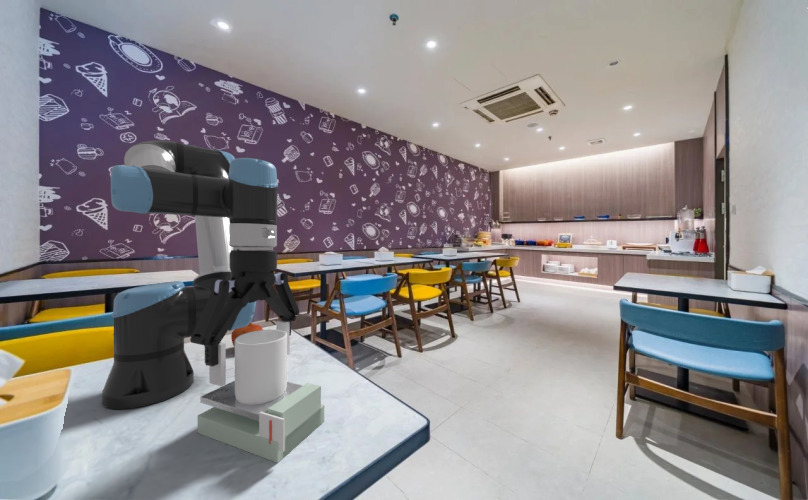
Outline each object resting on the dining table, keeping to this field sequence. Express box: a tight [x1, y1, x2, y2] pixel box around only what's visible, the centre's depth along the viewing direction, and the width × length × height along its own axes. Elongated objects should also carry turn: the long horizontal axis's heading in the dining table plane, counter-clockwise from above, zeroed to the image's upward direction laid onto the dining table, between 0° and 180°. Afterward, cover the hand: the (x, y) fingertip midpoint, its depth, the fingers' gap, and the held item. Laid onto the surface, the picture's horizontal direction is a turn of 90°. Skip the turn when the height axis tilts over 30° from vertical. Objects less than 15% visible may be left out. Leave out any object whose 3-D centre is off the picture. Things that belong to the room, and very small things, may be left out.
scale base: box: [197, 382, 325, 464], centre depth 51 cm, size 19×11×7 cm, turn 68°
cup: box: [234, 329, 288, 405], centre depth 53 cm, size 8×12×10 cm
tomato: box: [231, 322, 264, 348], centre depth 90 cm, size 9×9×8 cm
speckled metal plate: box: [199, 380, 303, 421], centre depth 52 cm, size 14×10×3 cm
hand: (254, 367), depth 52 cm, fingers open, 13 cm apart
